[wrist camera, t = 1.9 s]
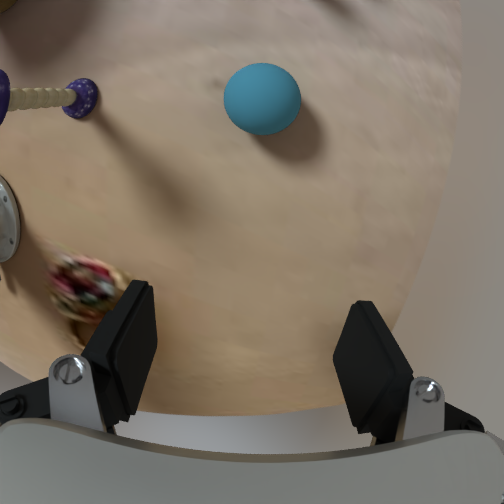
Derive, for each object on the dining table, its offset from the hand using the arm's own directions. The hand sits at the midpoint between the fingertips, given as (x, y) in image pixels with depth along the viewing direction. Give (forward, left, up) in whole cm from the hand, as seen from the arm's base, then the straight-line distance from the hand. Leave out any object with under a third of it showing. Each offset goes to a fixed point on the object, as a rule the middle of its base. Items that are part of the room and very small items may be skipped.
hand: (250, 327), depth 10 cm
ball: (+9, 0, -15) cm, 18 cm away
